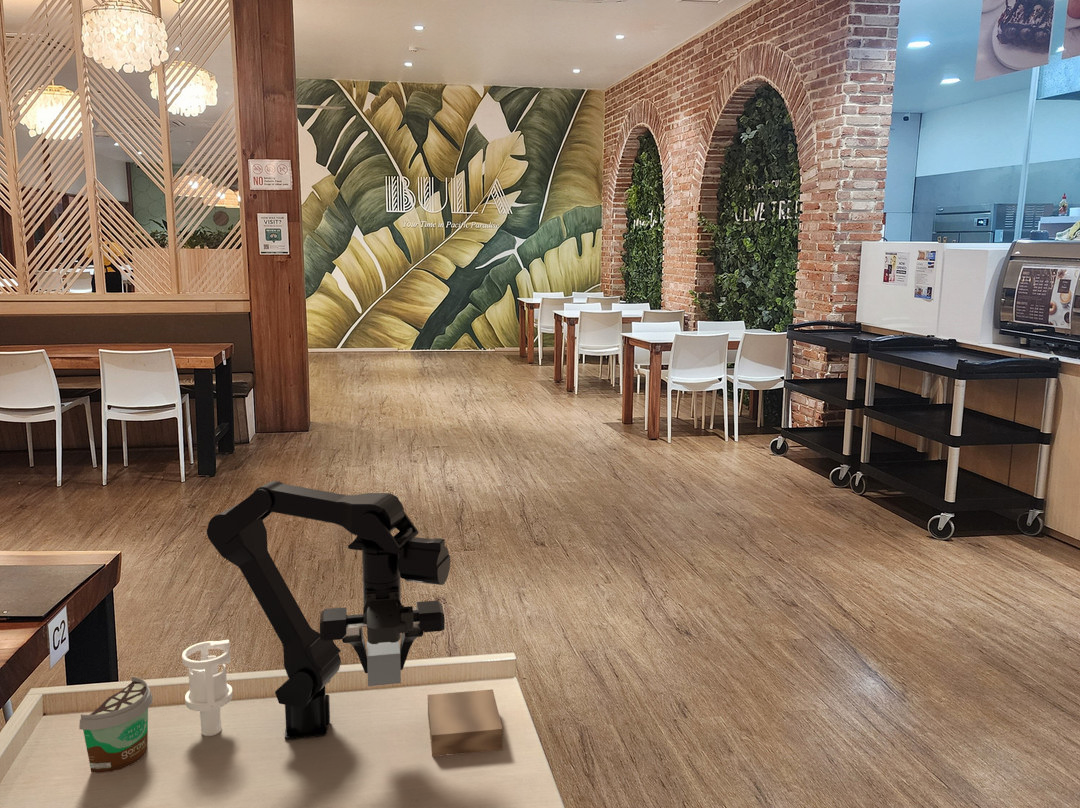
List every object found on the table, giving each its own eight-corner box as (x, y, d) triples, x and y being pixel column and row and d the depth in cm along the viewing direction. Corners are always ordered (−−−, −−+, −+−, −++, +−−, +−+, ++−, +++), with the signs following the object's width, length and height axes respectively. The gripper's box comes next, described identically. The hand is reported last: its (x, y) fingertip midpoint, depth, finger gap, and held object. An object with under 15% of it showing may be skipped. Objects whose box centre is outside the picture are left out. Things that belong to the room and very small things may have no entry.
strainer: (237, 736, 136) (231, 649, 133) (189, 747, 133) (183, 658, 130) (231, 714, 142) (226, 631, 139) (186, 724, 139) (180, 639, 136)
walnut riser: (432, 758, 132) (431, 735, 131) (427, 716, 143) (427, 694, 143) (502, 751, 134) (502, 728, 133) (492, 710, 145) (492, 689, 145)
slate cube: (367, 686, 131) (367, 656, 130) (367, 670, 136) (366, 641, 135) (400, 683, 132) (400, 653, 131) (399, 667, 137) (398, 638, 136)
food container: (121, 784, 124) (115, 721, 122) (84, 778, 125) (77, 716, 123) (173, 736, 136) (168, 679, 134) (138, 731, 137) (134, 674, 135)
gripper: (316, 603, 121) (320, 703, 124) (448, 593, 125) (448, 691, 128) (319, 573, 132) (323, 666, 135) (440, 565, 135) (441, 655, 138)
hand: (383, 670), depth 134 cm, fingers closed on slate cube, 5 cm apart
